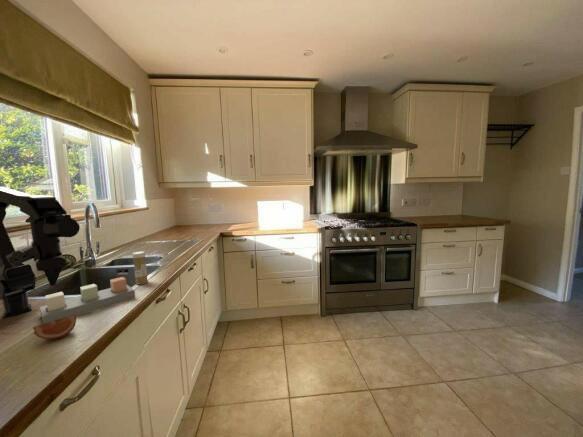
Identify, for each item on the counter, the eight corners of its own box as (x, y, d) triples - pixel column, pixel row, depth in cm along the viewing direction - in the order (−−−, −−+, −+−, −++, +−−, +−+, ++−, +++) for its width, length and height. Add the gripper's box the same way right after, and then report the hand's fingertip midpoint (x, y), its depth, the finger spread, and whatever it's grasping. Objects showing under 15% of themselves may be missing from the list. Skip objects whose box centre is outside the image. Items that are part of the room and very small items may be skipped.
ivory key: (47, 310, 79) (45, 295, 78) (64, 305, 82) (62, 291, 81) (48, 313, 76) (46, 299, 76) (66, 308, 79) (63, 294, 79)
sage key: (81, 300, 85) (79, 287, 85) (96, 296, 88) (94, 283, 88) (84, 303, 83) (82, 290, 82) (98, 299, 86) (97, 286, 85)
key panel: (41, 315, 80) (39, 306, 80) (126, 291, 98) (126, 283, 98) (43, 326, 74) (42, 316, 73) (135, 297, 91) (134, 290, 91)
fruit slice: (35, 349, 62) (32, 330, 62) (35, 338, 67) (32, 321, 66) (79, 334, 68) (76, 317, 68) (76, 326, 73) (73, 309, 72)
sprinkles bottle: (133, 284, 105) (129, 253, 103) (142, 280, 109) (139, 250, 108) (141, 285, 104) (138, 254, 102) (150, 281, 108) (147, 251, 106)
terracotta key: (111, 292, 92) (109, 279, 91) (124, 288, 95) (122, 276, 94) (114, 295, 89) (112, 282, 88) (127, 291, 92) (125, 278, 91)
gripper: (6, 237, 77) (14, 286, 78) (5, 245, 64) (15, 302, 66) (55, 232, 85) (61, 276, 87) (63, 238, 73) (70, 289, 74)
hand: (52, 285), depth 78 cm, fingers closed
